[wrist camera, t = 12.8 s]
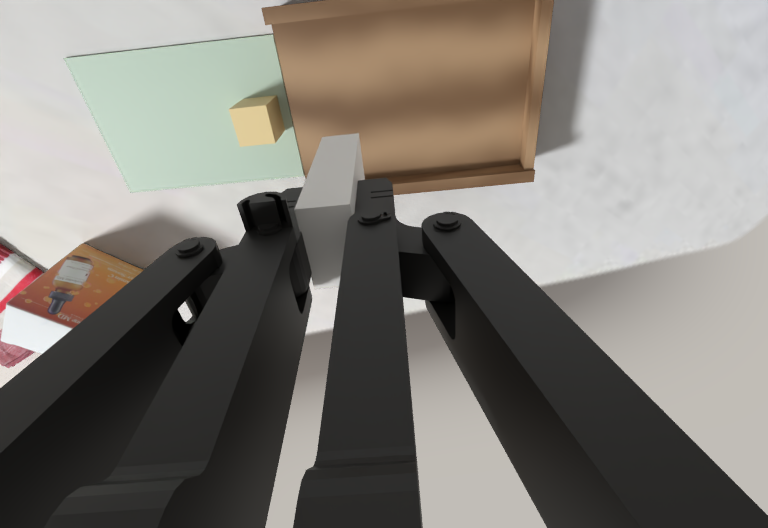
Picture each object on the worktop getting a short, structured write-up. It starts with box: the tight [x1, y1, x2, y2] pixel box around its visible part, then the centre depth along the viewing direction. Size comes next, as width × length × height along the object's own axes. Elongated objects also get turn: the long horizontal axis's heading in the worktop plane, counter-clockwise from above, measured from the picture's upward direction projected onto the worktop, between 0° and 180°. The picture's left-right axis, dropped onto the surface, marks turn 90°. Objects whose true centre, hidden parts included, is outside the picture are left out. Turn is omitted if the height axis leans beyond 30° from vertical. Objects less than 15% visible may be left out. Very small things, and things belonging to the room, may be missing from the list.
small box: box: [0, 243, 143, 354], centre depth 40 cm, size 8×6×10 cm
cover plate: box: [64, 34, 304, 193], centre depth 34 cm, size 12×18×5 cm
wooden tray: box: [262, 0, 554, 195], centre depth 32 cm, size 15×20×5 cm
